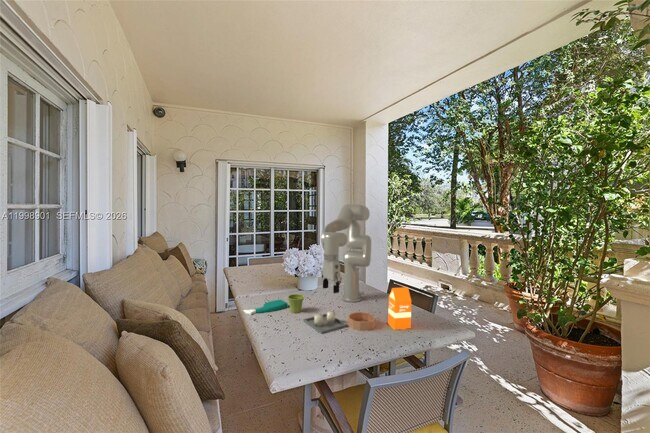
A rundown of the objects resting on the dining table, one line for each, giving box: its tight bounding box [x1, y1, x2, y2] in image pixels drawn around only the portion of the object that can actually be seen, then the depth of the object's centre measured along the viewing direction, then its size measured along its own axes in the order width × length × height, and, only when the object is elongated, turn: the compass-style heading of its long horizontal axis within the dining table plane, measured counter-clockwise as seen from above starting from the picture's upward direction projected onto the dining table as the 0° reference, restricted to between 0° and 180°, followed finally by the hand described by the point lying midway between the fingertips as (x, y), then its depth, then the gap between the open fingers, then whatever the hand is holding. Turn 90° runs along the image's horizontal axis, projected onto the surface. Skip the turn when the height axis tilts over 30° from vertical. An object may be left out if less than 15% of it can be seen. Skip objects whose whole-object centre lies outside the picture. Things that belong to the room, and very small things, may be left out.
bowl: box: [347, 311, 376, 332], centre depth 149 cm, size 13×13×4 cm
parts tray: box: [302, 313, 348, 335], centre depth 149 cm, size 16×18×2 cm
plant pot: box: [287, 293, 305, 314], centre depth 167 cm, size 9×9×9 cm
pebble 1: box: [313, 313, 323, 327], centre depth 147 cm, size 4×4×5 cm
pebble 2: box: [326, 310, 336, 324], centre depth 151 cm, size 4×4×5 cm
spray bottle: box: [243, 299, 289, 316], centre depth 170 cm, size 3×11×24 cm
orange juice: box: [387, 286, 412, 331], centre depth 148 cm, size 8×9×20 cm
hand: (330, 290), depth 151 cm, fingers open, 9 cm apart
